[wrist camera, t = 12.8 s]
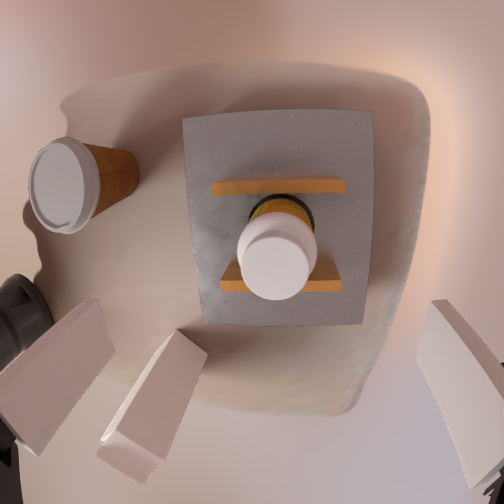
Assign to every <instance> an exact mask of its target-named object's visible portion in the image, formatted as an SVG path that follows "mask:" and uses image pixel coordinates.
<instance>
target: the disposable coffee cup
mask: <svg viewBox="0 0 504 504" xmlns="http://www.w3.org/2000/svg"><path fill="white" fill-rule="evenodd" d="M138 181H139V168H138V164H137V162H136V160H135V158H134V157H133V156H132V155H131V154H130V153H128V152H126V151H122V150H117V149H112V148H107V147H101V146H96V145H90V144H84V143H81V142H80V141H78V140H76V139H74V138H70V137H62V138H58V139H56V140H54V141H52V142H51V143H50V144H48V145H47V146H45V147H44V148H42V149H41V150H40V151H39V153H38V154H37V156H36V157H35V159H34V161H33V163H32V166H31V170H30V175H29V186H28V189H29V198H30V202H31V205H32V209H33V211H34V213H35V215H36V217H37V219H38V220H39V222H40V223H41V224H42V225H43V226H44V227H45V228H47V229H48V230H50V231H52V232H56V233H63V234H72V233H75V232H77V231H80V230H81V229H82V228H83V227H84V226H85V225H86V224H87V223H88V221H89V220H90V219H91V218H93V217H94V216H96V215H98V214H99V213H101V212H103V211H104V210H106V209H108V208H109V207H111V206H112V205H114V204H116V203H117V202H119V201H121V200H123V199H124V198H126V197H128V196H129V195H131V194H132V193H133V192H134V190H135V189H136V187H137V184H138Z"/></svg>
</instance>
